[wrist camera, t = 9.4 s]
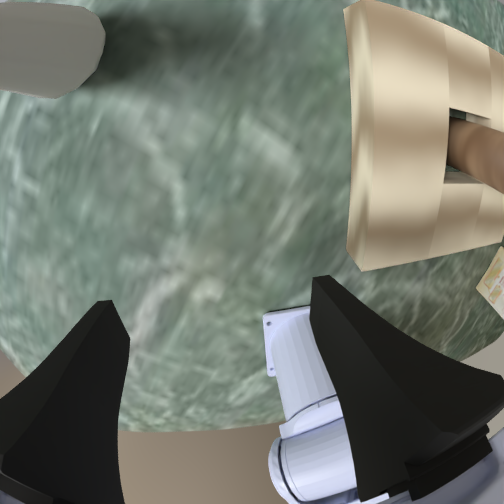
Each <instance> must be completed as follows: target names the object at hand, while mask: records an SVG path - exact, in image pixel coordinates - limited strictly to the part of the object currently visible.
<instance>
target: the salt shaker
mask: <svg viewBox="0 0 504 504" xmlns="http://www.w3.org/2000/svg"><path fill="white" fill-rule="evenodd" d="M105 35H106V33H105V31H104V28H103V26H102V24H101V22H100V19H99V18H98V16H97V15H96V14H94V13H93V12H91V11H89V10H88V9H86V8H84V7H80V6H72V5H64V4H53V3H35V2H8V3H0V90H4V91H9V92H14V93H19V94H24V95H29V96H33V97H38V98H54V99H56V98H59V97H61V96H63V95H65V94H67V93H69V92H71V91H73V90H75V89H77V88H78V87H79V86H80V85H81V84H82V83H83V82H84V81H85V80H86V79H87V78H88V77H89V76H90V75H91V74H92V73H94V72H95V71H96V70H97V67H98V64H99V61H100V58H101V56H102V54H103V48H104V45H105Z"/></svg>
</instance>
